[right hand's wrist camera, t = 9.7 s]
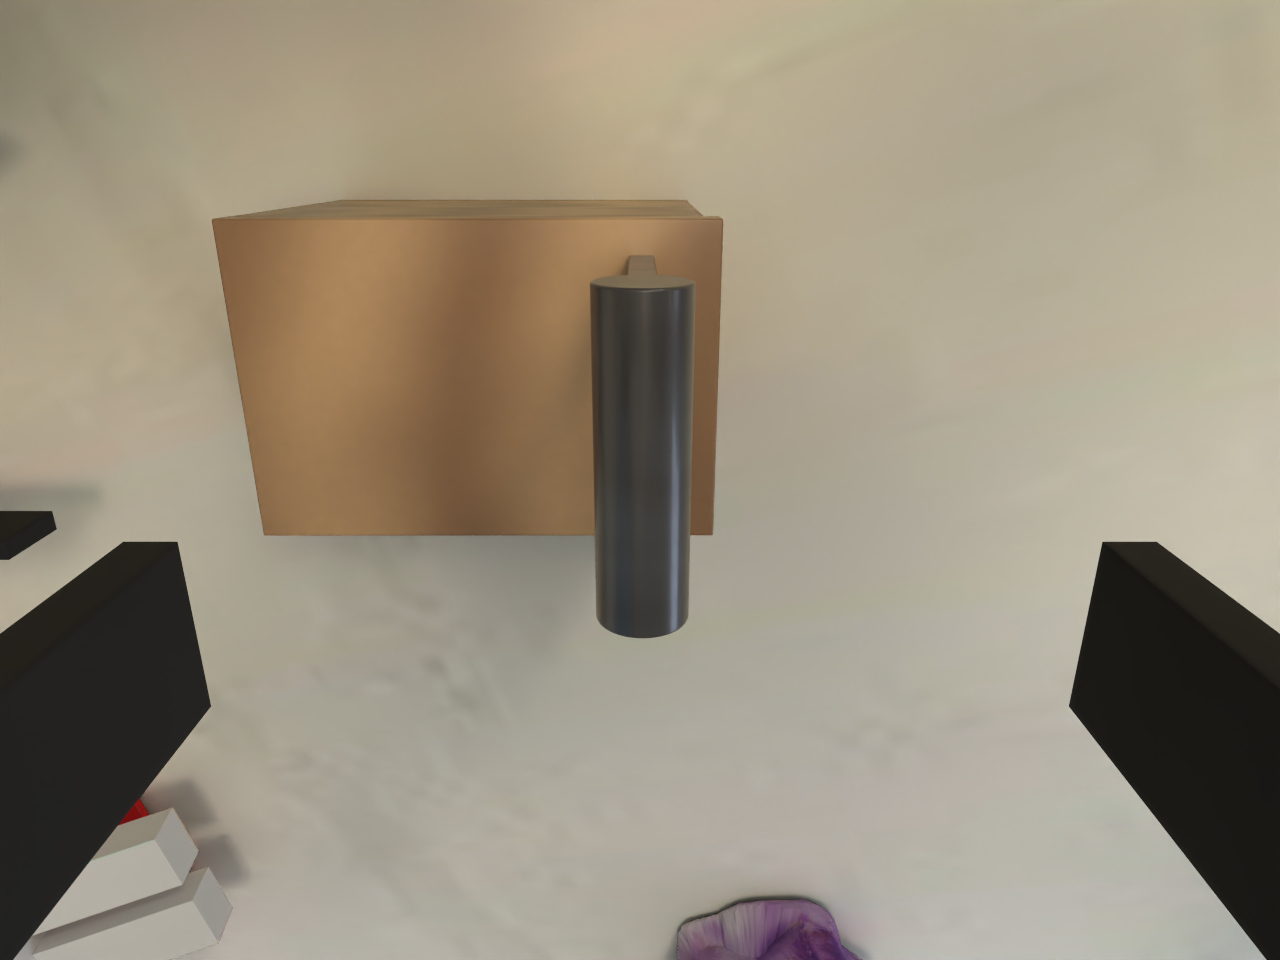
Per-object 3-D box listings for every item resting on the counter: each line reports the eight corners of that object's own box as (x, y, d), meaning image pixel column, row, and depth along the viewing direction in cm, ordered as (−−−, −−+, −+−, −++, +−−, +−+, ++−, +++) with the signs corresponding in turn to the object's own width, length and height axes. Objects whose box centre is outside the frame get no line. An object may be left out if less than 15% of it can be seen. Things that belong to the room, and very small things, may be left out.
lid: (719, 216, 25) (759, 245, 17) (710, 522, 28) (739, 670, 20) (228, 216, 25) (29, 245, 17) (277, 522, 28) (130, 670, 20)
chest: (687, 200, 34) (705, 216, 25) (683, 431, 37) (698, 521, 28) (339, 199, 34) (229, 216, 25) (366, 431, 37) (277, 521, 28)
